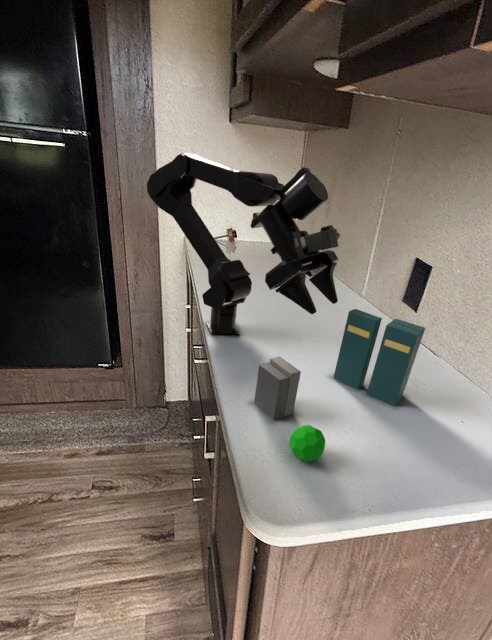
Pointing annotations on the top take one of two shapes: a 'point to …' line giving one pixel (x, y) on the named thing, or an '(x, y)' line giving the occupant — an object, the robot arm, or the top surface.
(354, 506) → the top surface
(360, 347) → the teal book
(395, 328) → the teal books
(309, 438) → the polyhedron
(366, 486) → the top surface
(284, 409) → the grey books
